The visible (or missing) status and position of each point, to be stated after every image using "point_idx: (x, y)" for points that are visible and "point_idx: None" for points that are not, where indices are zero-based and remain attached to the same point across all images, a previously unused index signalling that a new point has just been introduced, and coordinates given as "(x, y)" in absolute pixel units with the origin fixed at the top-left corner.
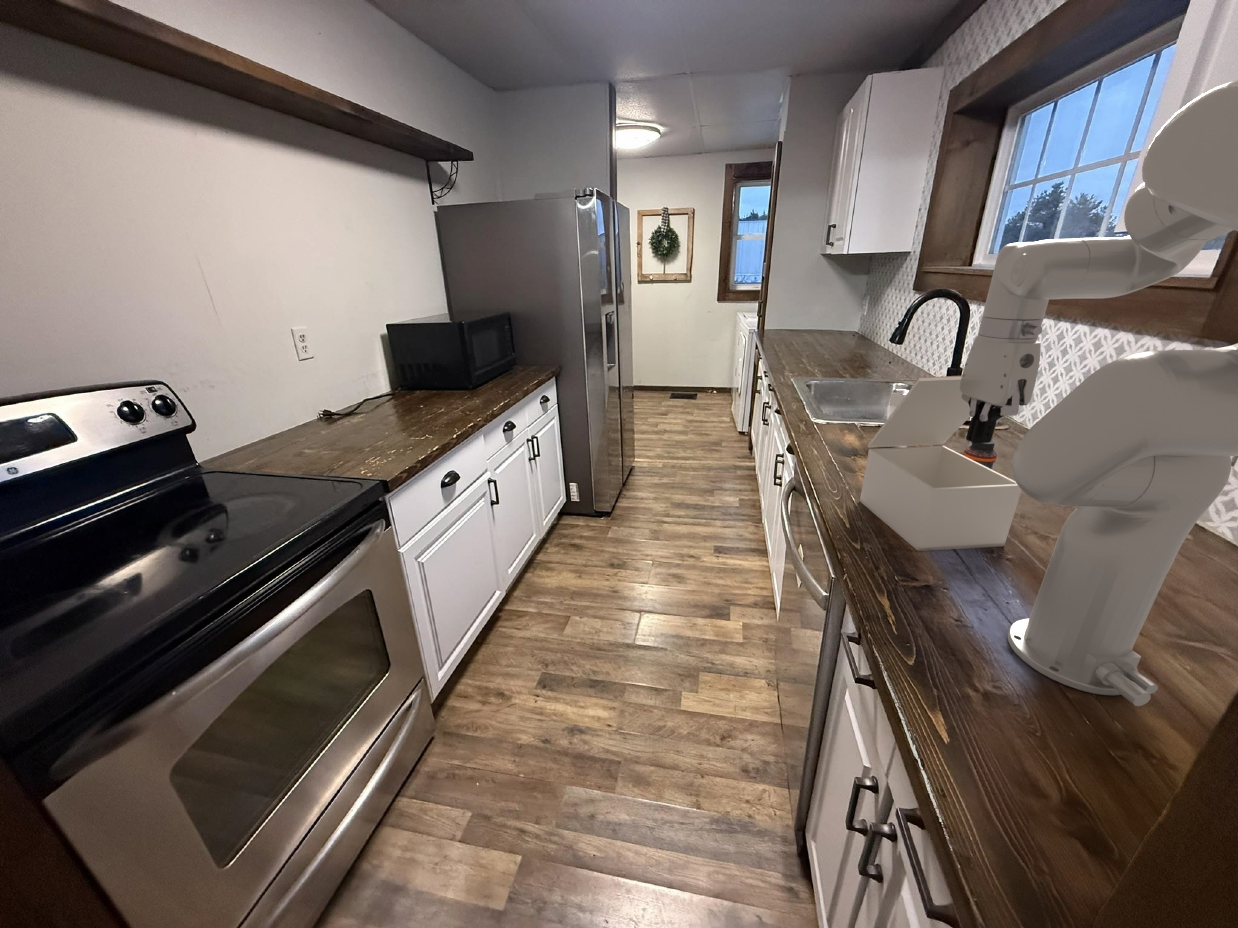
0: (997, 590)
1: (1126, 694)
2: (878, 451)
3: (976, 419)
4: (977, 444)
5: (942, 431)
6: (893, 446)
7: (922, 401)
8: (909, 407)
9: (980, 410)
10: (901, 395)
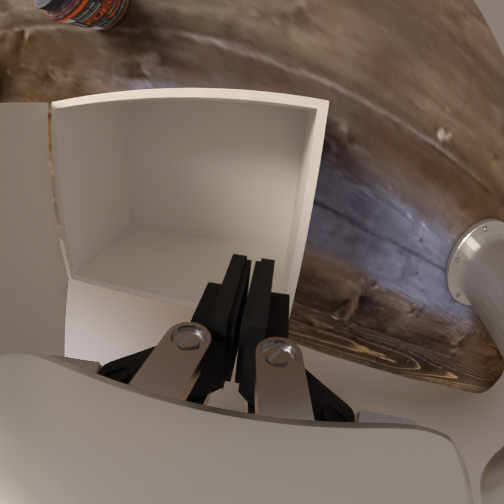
0: (401, 228)
1: None
2: (75, 262)
3: (229, 380)
4: (52, 4)
5: (34, 144)
6: None
7: None
8: None
9: (194, 389)
10: None
